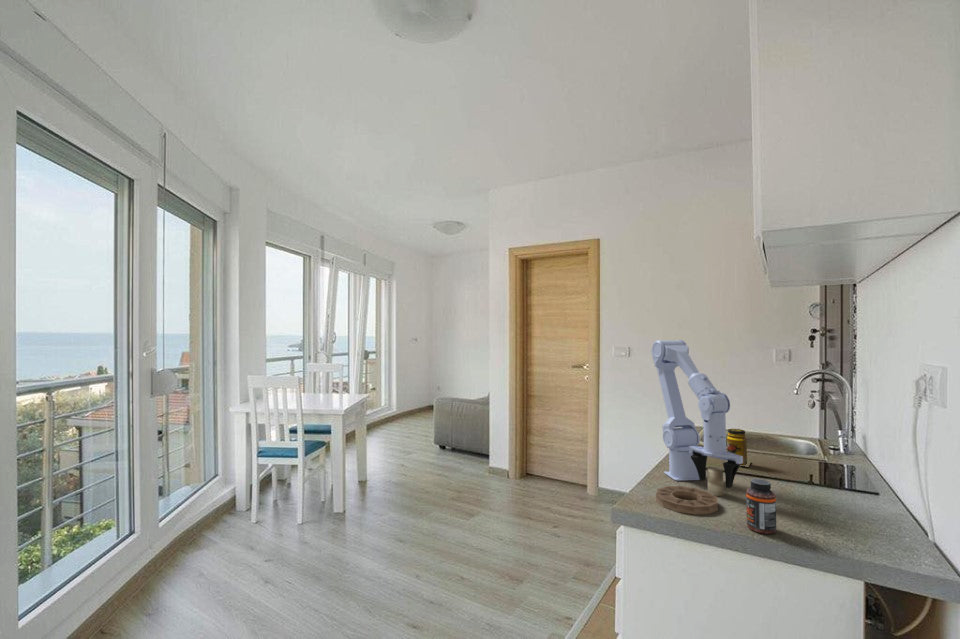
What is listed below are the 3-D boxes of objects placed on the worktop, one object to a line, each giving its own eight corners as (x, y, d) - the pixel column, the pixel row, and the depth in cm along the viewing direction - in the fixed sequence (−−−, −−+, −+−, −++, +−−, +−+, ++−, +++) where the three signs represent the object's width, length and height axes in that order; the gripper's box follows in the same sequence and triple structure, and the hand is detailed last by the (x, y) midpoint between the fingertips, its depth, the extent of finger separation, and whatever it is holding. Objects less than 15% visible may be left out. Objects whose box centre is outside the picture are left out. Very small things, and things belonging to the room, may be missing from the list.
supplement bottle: (741, 524, 109) (740, 477, 109) (766, 524, 109) (765, 477, 109) (755, 535, 103) (754, 485, 103) (782, 535, 103) (781, 485, 103)
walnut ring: (697, 492, 130) (697, 485, 130) (730, 513, 115) (729, 505, 115) (647, 493, 129) (647, 486, 129) (673, 515, 114) (673, 507, 114)
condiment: (724, 464, 157) (723, 430, 157) (728, 459, 163) (728, 426, 164) (748, 468, 152) (747, 433, 152) (752, 462, 159) (751, 428, 159)
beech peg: (718, 491, 131) (717, 466, 131) (726, 496, 127) (726, 471, 127) (704, 491, 131) (704, 467, 131) (712, 496, 127) (712, 471, 127)
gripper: (683, 432, 133) (683, 479, 133) (733, 442, 121) (734, 493, 121) (696, 429, 137) (697, 474, 137) (746, 439, 125) (747, 488, 125)
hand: (715, 483), depth 129 cm, fingers open, 7 cm apart
